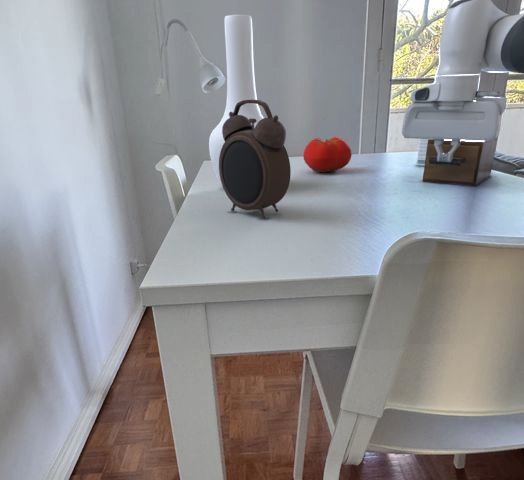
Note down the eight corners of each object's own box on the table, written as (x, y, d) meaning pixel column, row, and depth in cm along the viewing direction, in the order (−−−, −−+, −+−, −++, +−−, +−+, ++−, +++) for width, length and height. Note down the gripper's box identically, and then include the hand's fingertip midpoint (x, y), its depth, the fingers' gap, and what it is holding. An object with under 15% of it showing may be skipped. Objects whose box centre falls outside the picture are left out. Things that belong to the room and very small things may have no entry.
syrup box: (415, 165, 138) (422, 110, 130) (423, 163, 142) (430, 109, 134) (434, 167, 134) (442, 110, 127) (442, 164, 138) (450, 109, 131)
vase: (210, 195, 110) (194, 12, 92) (214, 182, 124) (202, 21, 107) (281, 192, 110) (279, 9, 93) (277, 179, 124) (275, 19, 107)
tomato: (293, 174, 131) (293, 140, 127) (311, 167, 141) (311, 135, 136) (340, 177, 126) (342, 141, 121) (355, 169, 135) (357, 136, 131)
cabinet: (475, 185, 110) (483, 141, 106) (422, 181, 117) (428, 139, 112) (490, 176, 121) (498, 135, 116) (440, 172, 127) (446, 133, 122)
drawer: (466, 186, 106) (473, 148, 102) (416, 182, 112) (421, 146, 108) (486, 173, 119) (492, 139, 115) (440, 170, 125) (445, 138, 121)
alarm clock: (216, 211, 96) (207, 100, 86) (242, 205, 100) (236, 98, 90) (268, 223, 87) (265, 100, 77) (294, 215, 91) (294, 98, 81)
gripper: (511, 90, 96) (496, 162, 103) (413, 91, 106) (405, 157, 113) (505, 91, 91) (490, 166, 98) (403, 92, 102) (396, 160, 109)
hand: (444, 161), depth 106 cm, fingers closed, pressing on drawer
